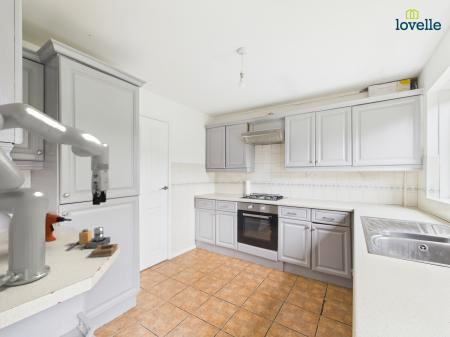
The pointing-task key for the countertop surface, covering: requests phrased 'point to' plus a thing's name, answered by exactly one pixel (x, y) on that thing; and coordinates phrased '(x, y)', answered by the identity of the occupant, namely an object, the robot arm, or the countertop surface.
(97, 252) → the wooden square tray
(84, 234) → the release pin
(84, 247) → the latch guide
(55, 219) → the toy drill
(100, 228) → the silver metal cylinder
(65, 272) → the countertop surface
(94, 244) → the socket
